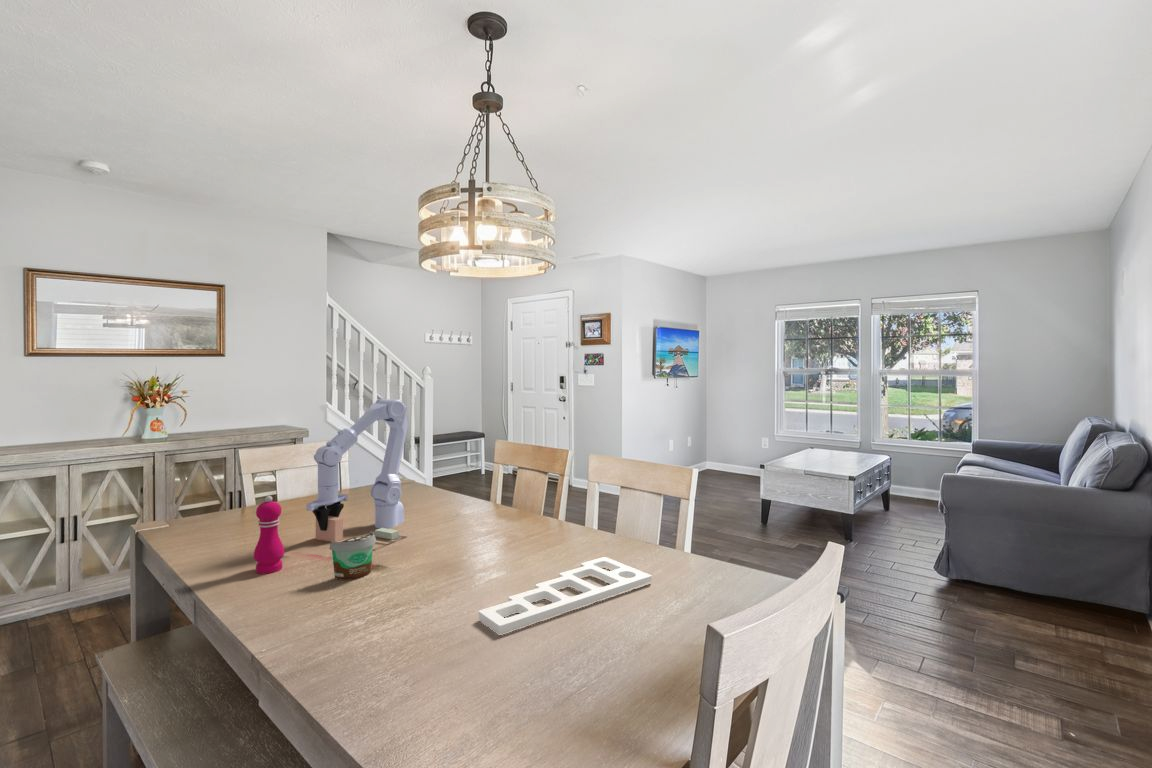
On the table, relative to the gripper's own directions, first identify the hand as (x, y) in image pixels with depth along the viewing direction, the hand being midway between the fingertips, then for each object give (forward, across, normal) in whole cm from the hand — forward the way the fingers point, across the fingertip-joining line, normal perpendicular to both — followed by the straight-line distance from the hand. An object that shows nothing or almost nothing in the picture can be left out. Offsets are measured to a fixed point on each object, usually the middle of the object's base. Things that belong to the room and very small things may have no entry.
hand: (328, 528), depth 172 cm
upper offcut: (+3, -9, +15) cm, 18 cm away
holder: (+5, +7, +82) cm, 82 cm away
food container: (+5, +17, +28) cm, 33 cm away
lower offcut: (+5, -9, +15) cm, 18 cm away
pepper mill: (+5, +23, +3) cm, 24 cm away
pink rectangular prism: (+3, 0, 0) cm, 4 cm away
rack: (+5, -4, +15) cm, 16 cm away
